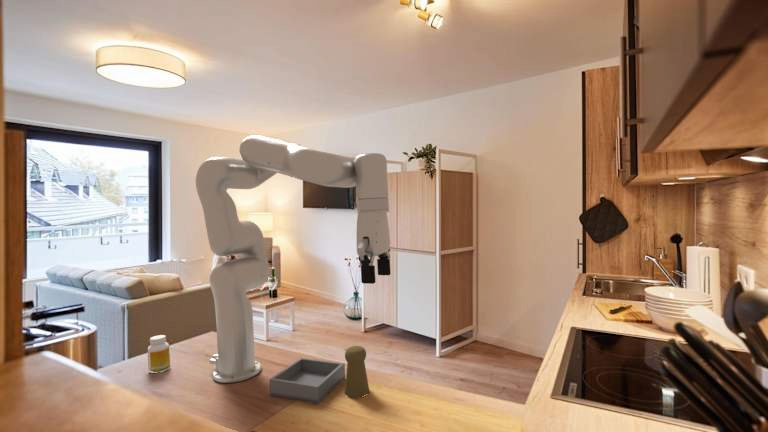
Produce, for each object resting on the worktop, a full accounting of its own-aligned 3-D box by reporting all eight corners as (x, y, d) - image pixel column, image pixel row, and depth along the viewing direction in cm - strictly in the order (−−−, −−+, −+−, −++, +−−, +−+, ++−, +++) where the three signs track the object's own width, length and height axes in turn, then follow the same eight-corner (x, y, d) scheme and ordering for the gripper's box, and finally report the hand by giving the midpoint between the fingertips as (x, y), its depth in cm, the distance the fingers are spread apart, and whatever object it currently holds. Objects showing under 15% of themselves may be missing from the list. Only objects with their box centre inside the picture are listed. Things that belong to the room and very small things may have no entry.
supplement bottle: (174, 368, 111) (172, 335, 110) (154, 375, 106) (152, 341, 106) (164, 364, 114) (162, 332, 113) (145, 371, 109) (143, 338, 109)
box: (270, 395, 92) (269, 379, 92) (301, 371, 105) (300, 357, 105) (318, 404, 88) (317, 387, 87) (345, 378, 100) (344, 363, 100)
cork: (366, 399, 89) (364, 353, 89) (341, 397, 90) (339, 351, 90) (371, 386, 95) (370, 343, 95) (348, 385, 96) (347, 342, 96)
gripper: (372, 206, 98) (376, 272, 99) (341, 208, 82) (346, 286, 83) (399, 205, 96) (403, 272, 96) (373, 206, 80) (377, 287, 80)
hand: (376, 278), depth 89 cm, fingers open, 9 cm apart
